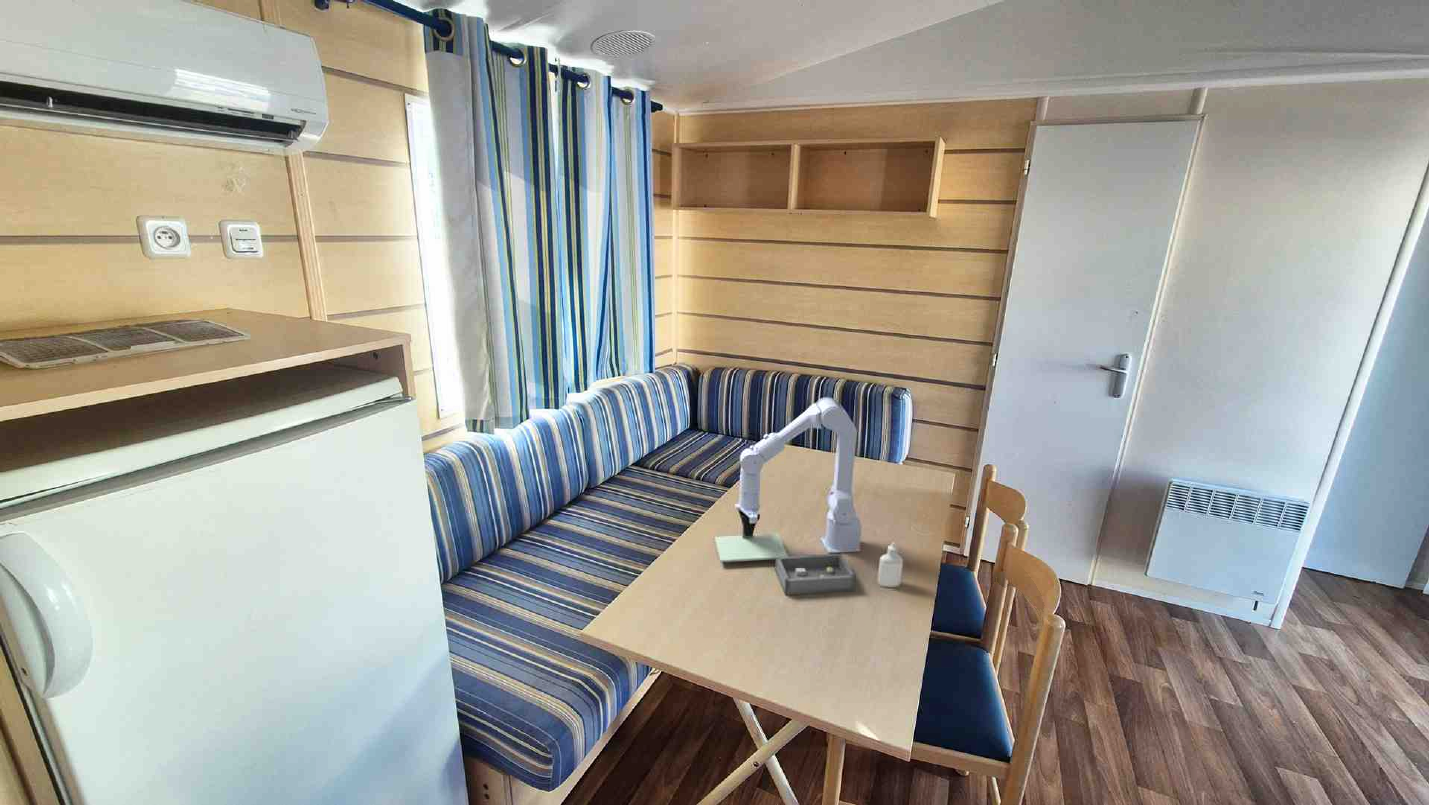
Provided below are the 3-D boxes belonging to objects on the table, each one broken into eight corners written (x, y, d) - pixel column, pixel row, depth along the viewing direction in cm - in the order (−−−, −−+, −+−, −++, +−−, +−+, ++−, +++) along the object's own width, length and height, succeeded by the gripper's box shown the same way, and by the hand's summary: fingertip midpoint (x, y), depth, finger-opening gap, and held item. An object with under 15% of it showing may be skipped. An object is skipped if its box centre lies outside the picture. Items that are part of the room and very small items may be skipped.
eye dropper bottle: (898, 591, 146) (903, 549, 143) (875, 585, 148) (880, 544, 145) (901, 582, 150) (906, 541, 146) (879, 576, 152) (883, 536, 149)
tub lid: (778, 537, 168) (778, 521, 166) (787, 560, 157) (788, 543, 155) (715, 540, 166) (715, 524, 164) (720, 564, 155) (720, 547, 153)
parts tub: (839, 566, 156) (840, 553, 155) (854, 590, 146) (855, 577, 145) (775, 570, 154) (775, 557, 153) (785, 595, 144) (785, 581, 142)
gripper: (731, 480, 168) (730, 522, 172) (740, 503, 154) (738, 547, 158) (755, 479, 169) (753, 521, 172) (765, 501, 155) (763, 546, 159)
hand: (747, 533), depth 165 cm, fingers closed on tub lid
